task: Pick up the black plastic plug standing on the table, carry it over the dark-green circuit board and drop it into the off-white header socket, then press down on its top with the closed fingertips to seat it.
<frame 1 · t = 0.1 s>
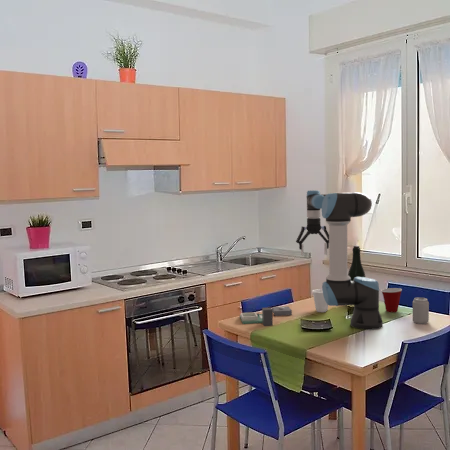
hand: (314, 254, 309), 28 cm above the table, fingers open, 13 cm apart
plug: (267, 324, 270), on the table
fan: (281, 313, 290), on the table
can: (420, 322, 266), on the table
beer bottle: (356, 303, 309), on the table
cup: (321, 311, 293), on the table
board: (249, 320, 278), on the table
plastic cup: (391, 311, 289), on the table
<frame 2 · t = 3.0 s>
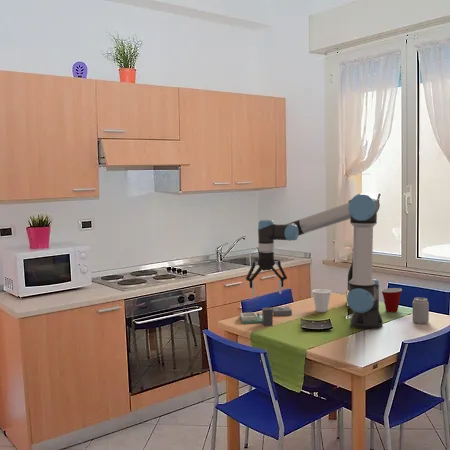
hand: (266, 294, 268), 15 cm above the table, fingers open, 13 cm apart
nothing on the table moved.
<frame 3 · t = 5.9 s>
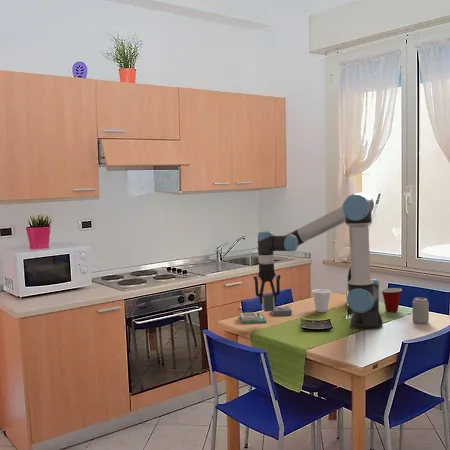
hand: (268, 309, 269), 8 cm above the table, fingers closed on plug, 4 cm apart
plug: (268, 310, 269), point 7 cm above the table, touching gripper
everything else where it was.
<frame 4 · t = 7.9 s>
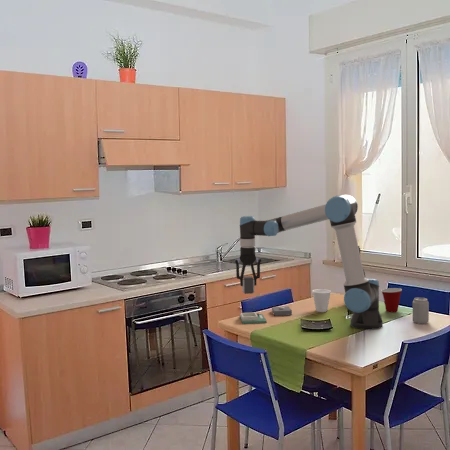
hand: (248, 292, 277), 15 cm above the table, fingers closed on plug, 4 cm apart
plug: (248, 292, 277), point 14 cm above the table, touching gripper
everything else where it was.
when the fingers open (4 cm above the table, at t = 10.4 s): plug drops 2 cm, resting on board.
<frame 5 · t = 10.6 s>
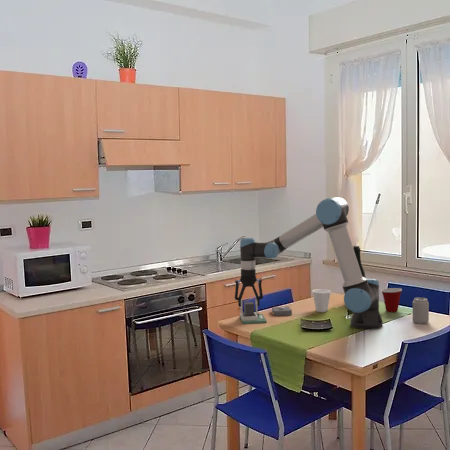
hand: (249, 312, 278), 4 cm above the table, fingers open, 7 cm apart
plug: (249, 318, 278), point 1 cm above the table, touching board
everything else where it was.
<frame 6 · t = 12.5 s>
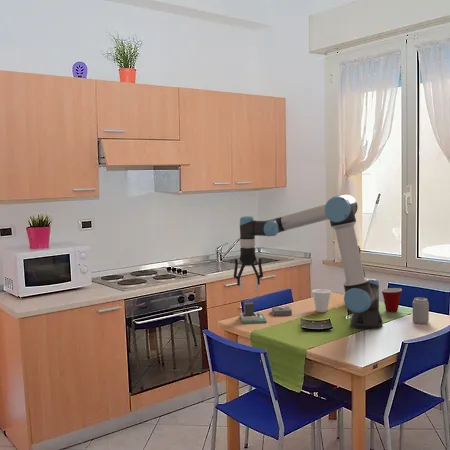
hand: (248, 291, 277), 15 cm above the table, fingers open, 8 cm apart
nothing on the table moved.
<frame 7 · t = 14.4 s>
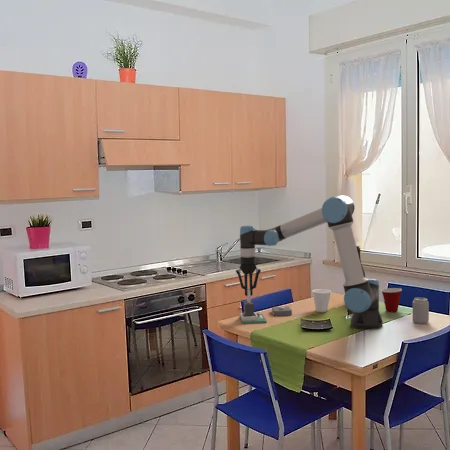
hand: (248, 301, 277), 10 cm above the table, fingers closed
nothing on the table moved.
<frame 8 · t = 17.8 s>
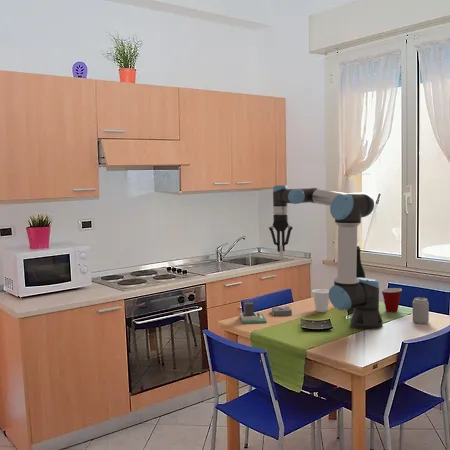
hand: (281, 257, 293), 29 cm above the table, fingers closed
nothing on the table moved.
at the end: plug 0.1 cm off-centre on the board, point 1.0 cm above the board's base; plug tilted 0°; the gripper is holding nothing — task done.
